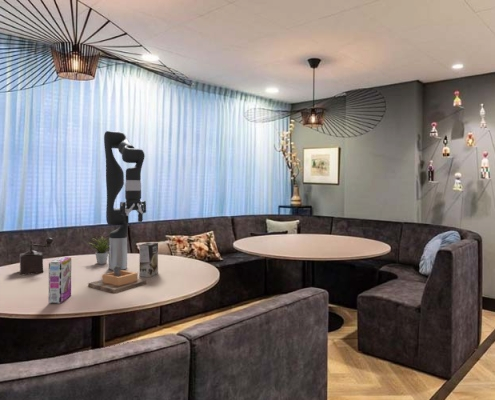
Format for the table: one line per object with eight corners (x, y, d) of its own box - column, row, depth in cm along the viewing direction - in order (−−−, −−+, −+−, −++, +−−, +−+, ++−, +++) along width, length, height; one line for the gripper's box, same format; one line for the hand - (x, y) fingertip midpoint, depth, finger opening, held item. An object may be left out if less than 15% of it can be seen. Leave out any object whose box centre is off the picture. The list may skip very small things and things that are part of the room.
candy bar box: (61, 304, 149) (61, 262, 148) (48, 304, 148) (47, 262, 147) (72, 295, 160) (71, 256, 159) (59, 295, 159) (59, 256, 158)
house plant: (106, 258, 234) (106, 232, 233) (120, 261, 226) (120, 234, 225) (85, 262, 222) (85, 235, 222) (99, 266, 214) (98, 237, 214)
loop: (102, 282, 176) (102, 274, 175) (121, 277, 185) (121, 269, 185) (118, 285, 170) (118, 277, 170) (137, 280, 179) (137, 273, 179)
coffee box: (150, 277, 191) (150, 245, 190) (139, 276, 192) (138, 244, 192) (158, 273, 200) (158, 242, 199) (147, 272, 201) (147, 242, 200)
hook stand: (88, 286, 173) (88, 266, 173) (120, 278, 188) (120, 260, 188) (113, 293, 164) (113, 272, 163) (145, 283, 179) (145, 264, 178)
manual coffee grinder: (20, 275, 192) (19, 240, 191) (19, 271, 201) (19, 237, 200) (54, 271, 200) (54, 237, 199) (52, 267, 209) (52, 235, 208)
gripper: (139, 189, 193) (139, 220, 194) (116, 189, 182) (116, 223, 182) (149, 189, 189) (149, 221, 190) (126, 190, 177) (126, 224, 178)
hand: (133, 222), depth 186 cm, fingers open, 8 cm apart
